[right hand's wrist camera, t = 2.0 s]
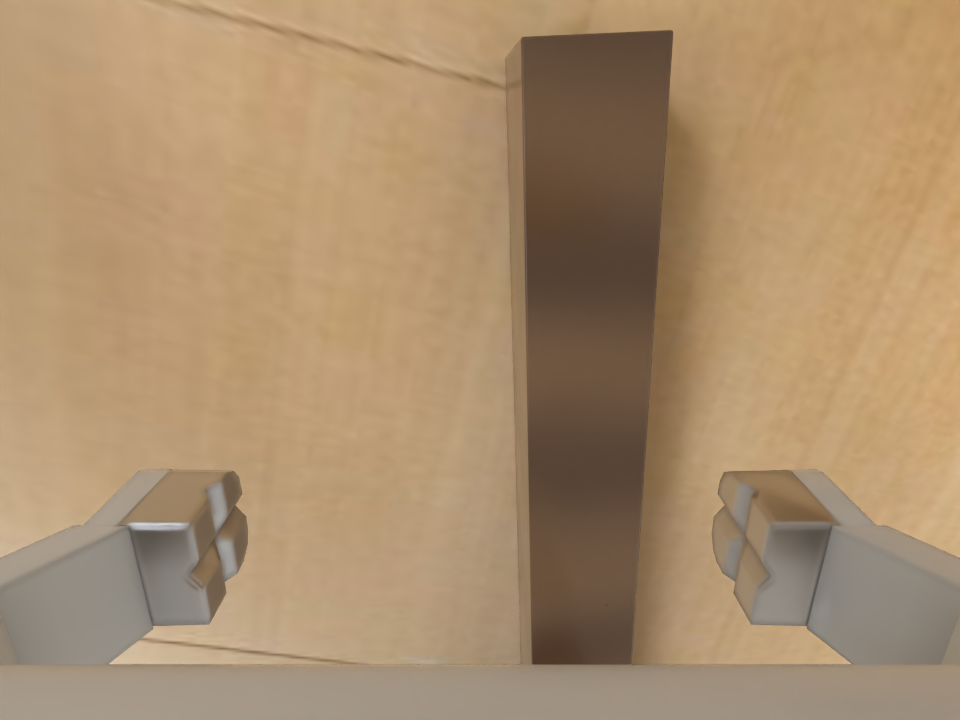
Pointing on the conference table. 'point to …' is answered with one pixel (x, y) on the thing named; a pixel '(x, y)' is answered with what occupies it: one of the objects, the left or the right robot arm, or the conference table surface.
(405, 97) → the conference table surface
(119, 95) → the conference table surface
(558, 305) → the beam
